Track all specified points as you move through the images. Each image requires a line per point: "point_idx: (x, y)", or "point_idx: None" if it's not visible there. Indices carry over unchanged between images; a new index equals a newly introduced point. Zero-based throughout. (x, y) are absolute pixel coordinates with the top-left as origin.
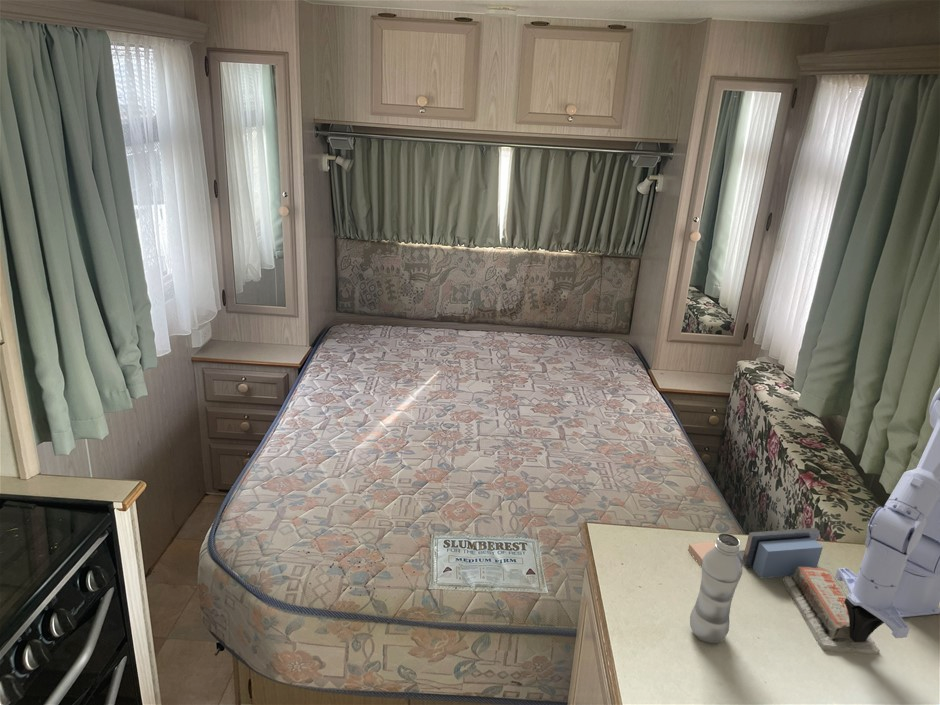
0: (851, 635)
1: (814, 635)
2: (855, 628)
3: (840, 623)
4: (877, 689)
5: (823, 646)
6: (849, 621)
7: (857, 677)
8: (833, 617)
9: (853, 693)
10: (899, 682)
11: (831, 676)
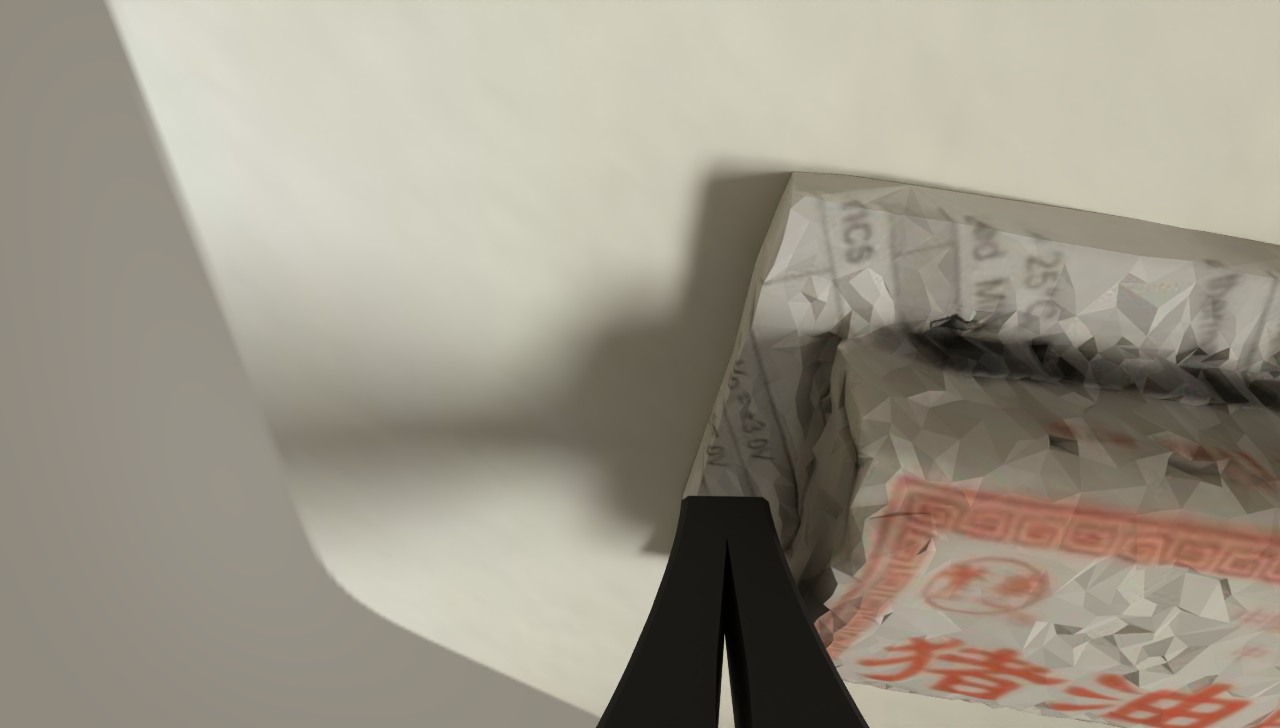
0: (740, 525)
1: (988, 200)
2: (694, 647)
3: (902, 537)
4: (317, 360)
5: (790, 188)
6: (824, 659)
7: (425, 288)
8: (1027, 526)
9: (202, 127)
10: (418, 520)
11: (399, 21)
